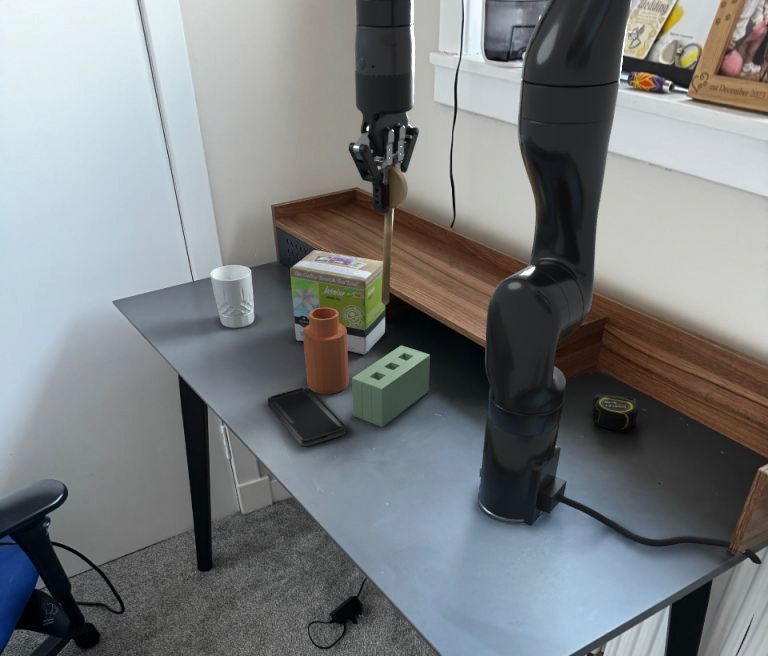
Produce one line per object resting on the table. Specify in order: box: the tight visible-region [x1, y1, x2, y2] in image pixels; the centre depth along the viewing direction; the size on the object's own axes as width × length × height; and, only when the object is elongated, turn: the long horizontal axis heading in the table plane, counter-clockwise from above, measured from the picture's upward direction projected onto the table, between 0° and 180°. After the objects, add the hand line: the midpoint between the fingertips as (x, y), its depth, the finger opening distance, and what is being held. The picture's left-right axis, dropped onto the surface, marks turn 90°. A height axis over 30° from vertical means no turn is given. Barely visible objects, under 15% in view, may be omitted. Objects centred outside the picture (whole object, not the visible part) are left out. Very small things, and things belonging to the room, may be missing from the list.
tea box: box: [289, 249, 386, 356], centre depth 135 cm, size 15×10×15 cm, turn 67°
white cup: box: [209, 264, 255, 329], centre depth 143 cm, size 8×8×10 cm
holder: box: [351, 345, 431, 428], centre depth 119 cm, size 6×14×7 cm, turn 144°
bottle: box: [303, 307, 350, 395], centre depth 122 cm, size 7×7×13 cm
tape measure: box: [592, 393, 639, 431], centre depth 115 cm, size 7×7×4 cm
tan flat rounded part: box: [378, 166, 409, 306], centre depth 104 cm, size 5×1×20 cm, turn 54°
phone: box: [267, 386, 346, 447], centre depth 117 cm, size 8×1×15 cm
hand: (385, 209), depth 102 cm, fingers closed on tan flat rounded part
